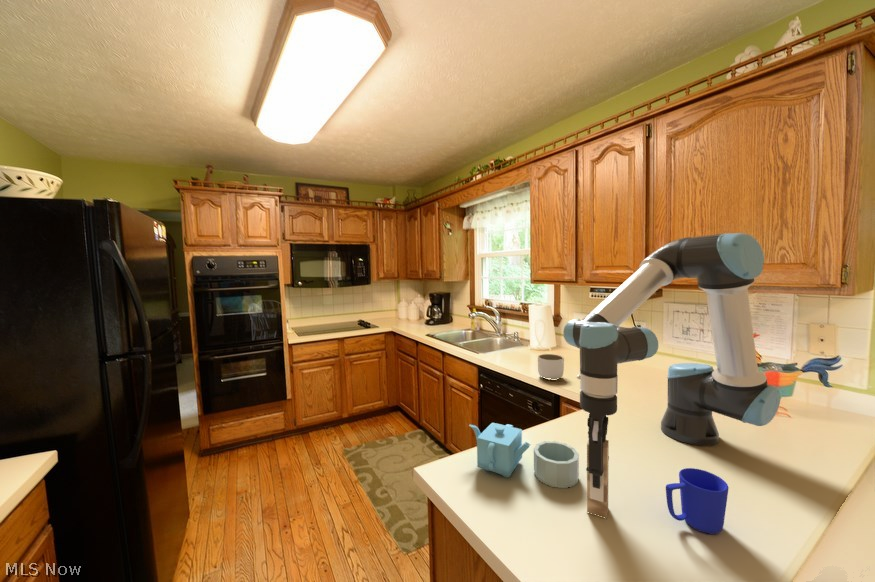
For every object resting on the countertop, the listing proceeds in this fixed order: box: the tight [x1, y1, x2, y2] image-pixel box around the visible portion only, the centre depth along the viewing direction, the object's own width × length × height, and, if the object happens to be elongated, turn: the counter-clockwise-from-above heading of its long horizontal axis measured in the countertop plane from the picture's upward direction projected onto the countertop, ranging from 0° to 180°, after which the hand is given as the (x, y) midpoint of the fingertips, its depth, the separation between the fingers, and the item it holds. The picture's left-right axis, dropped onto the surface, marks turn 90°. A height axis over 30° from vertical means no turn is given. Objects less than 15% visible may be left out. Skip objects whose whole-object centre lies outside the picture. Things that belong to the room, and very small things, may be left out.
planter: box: [537, 353, 565, 379], centre depth 168 cm, size 12×12×11 cm
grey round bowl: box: [533, 440, 580, 489], centre depth 89 cm, size 11×11×6 cm
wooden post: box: [586, 438, 610, 519], centre depth 76 cm, size 4×4×16 cm
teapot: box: [468, 422, 531, 478], centre depth 94 cm, size 16×18×11 cm
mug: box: [665, 467, 730, 535], centre depth 71 cm, size 8×12×10 cm
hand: (597, 492), depth 76 cm, fingers closed on wooden post, 4 cm apart
